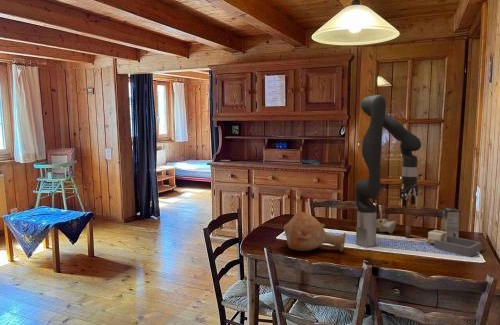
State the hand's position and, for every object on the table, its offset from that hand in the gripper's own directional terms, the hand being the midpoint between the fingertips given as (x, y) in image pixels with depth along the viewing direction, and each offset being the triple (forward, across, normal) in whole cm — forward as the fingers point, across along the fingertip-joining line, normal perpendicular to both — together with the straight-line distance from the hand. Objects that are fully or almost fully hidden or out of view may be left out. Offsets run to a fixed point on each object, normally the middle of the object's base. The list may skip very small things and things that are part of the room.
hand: (408, 205), depth 195 cm
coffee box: (+18, -14, +15) cm, 27 cm away
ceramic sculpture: (+18, 0, -15) cm, 24 cm away
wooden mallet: (+17, 0, +9) cm, 19 cm away
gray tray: (+18, 0, +25) cm, 31 cm away
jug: (+18, +53, -18) cm, 59 cm away
